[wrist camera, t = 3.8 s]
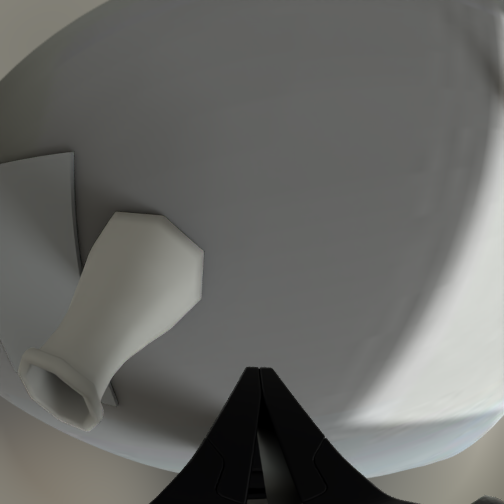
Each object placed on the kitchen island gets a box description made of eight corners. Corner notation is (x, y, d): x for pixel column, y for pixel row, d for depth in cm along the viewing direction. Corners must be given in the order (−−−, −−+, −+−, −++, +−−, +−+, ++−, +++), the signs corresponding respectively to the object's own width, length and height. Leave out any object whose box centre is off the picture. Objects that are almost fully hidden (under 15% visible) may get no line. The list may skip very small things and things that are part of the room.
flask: (109, 189, 14) (-34, 249, 4) (226, 242, 15) (198, 384, 5) (84, 293, 16) (-4, 396, 6) (182, 340, 17) (144, 478, 8)
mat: (118, 403, 19) (116, 406, 19) (17, 370, 19) (15, 372, 18) (74, 151, 13) (70, 151, 12) (-32, 172, 12) (-36, 172, 12)
